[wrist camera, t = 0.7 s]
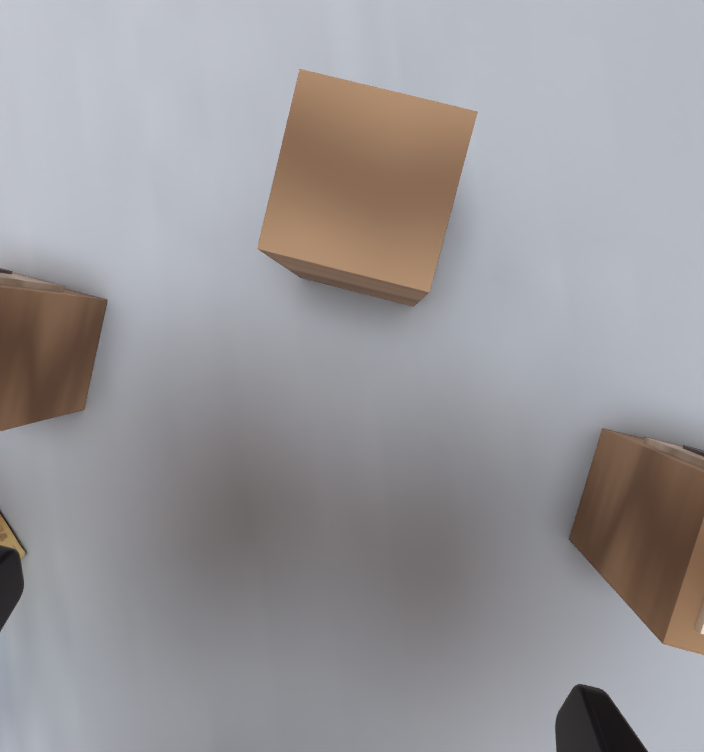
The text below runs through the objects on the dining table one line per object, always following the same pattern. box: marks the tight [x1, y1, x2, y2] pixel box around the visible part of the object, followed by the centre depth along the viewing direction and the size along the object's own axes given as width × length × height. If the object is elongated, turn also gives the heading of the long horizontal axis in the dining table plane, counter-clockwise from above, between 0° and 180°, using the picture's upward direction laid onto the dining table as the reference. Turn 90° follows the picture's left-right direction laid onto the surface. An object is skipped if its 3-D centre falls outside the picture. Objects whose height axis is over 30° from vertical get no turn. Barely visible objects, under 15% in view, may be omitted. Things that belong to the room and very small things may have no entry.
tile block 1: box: [569, 428, 704, 655], centre depth 19 cm, size 5×5×8 cm
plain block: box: [257, 69, 477, 306], centre depth 19 cm, size 5×5×8 cm
